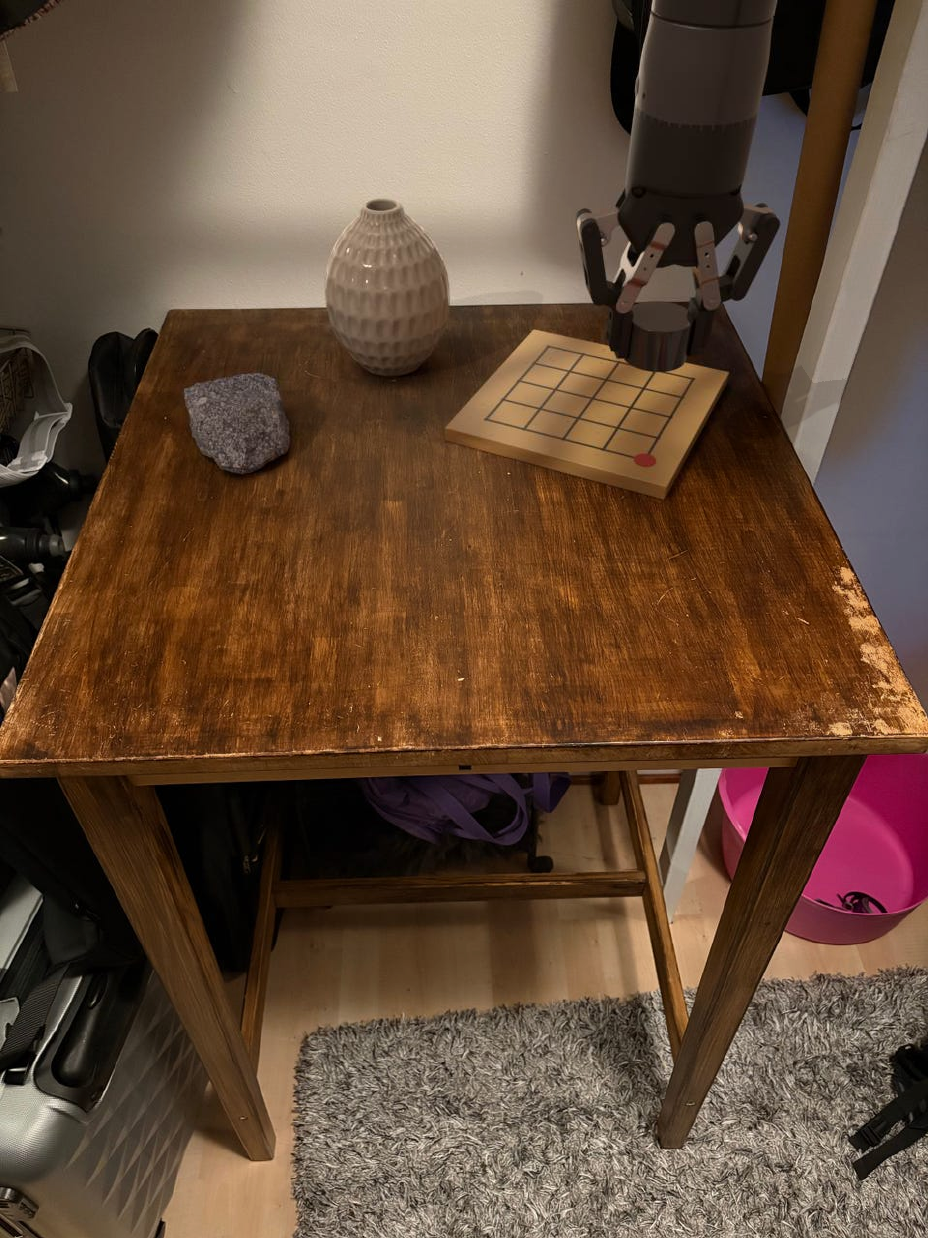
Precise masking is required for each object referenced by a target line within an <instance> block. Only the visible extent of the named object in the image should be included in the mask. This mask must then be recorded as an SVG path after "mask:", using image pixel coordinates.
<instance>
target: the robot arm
mask: <svg viewBox="0 0 928 1238" xmlns="http://www.w3.org/2000/svg"><path fill="white" fill-rule="evenodd" d="M777 5H778V0H652V3H651V11H650V13H649V14H650V15H649V21H648V25H647V29H646V34H645V37H644V41H643V46H642V51H641V55H640V60H639V70H638V74H637V77H636V80H635V87H634V93H635V102H634V108H633V109H634V111H633V118H632V125H631V126H632V127H631V133H630V142H629V150H628V157H627V165H626V174H625V182H624V187H623V190H622V191H621V193H620V195H619V197H618V199H617V200H616V201H615V205H614V206H612V207H609V208H605V209H601V210H598V211H595V212H592V211H591V210H590V209H589V208H586V207H584V208H580V209H579V210H578V211H577V212H576V213H575V216H574V221H575V227H576V233H577V239H578V246H579V252H580V257H581V264H582V271H583V276H584V282H585V287H586V289H587V291H588V294H589V296H590V299H591V302H592V303H593V305H595V306H597V307H601V306H606V307H608V312H607V320H606V329H605V336H604V337H605V339H606V343H607V346H609V348H610V350H611V352H613V351H614V353H615V356H616V358H617V359H626V358H627V356H628V350H629V343H630V336H631V329H632V322H633V315H634V313H633V311H632V307H633V306H634V305H635V303H636V301H637V300H638V297H639V295H640V293H641V291H642V289H643V288H644V287H645V286H647V285H648V283H649V282H650V279H651V278H652V276H653V273H654V272H655V270H656V269H664V268H668V267H670V266H674V265H675V266H679V267H683V268H690V269H691V274H692V275H691V276H692V280H693V287H694V292H695V294H694V297H690V298H689V303H688V308H687V310H689V311H690V312H691V313H692V315H693V317H694V323H693V328H692V333H691V338H690V343H689V348H688V354H687V357H697V356H699V355H700V351H701V349H705V348H706V347H707V346H708V344H709V342H710V338H711V332H712V329H713V325H714V319H715V316H716V315H715V314H716V311H717V308H718V307H719V306H720V305H721V304H723V303H725V302H727V301H730V300H732V301H734V302H739V301H742V300H743V299H745V298H746V296H747V294H748V293H749V291H750V289H751V286H752V284H753V282H754V280H755V278H756V277H757V274H758V272H759V271H760V268H761V266H762V264H763V263H764V261H765V258H766V256H767V254H768V252H769V250H770V248H771V246H772V243H773V242H774V240H775V238H776V236H777V233H778V232H779V229H780V227H781V220H780V219H779V218H778V217H777V215H776V213H775V212H774V211H773V210H772V209H771V208H770V207H769V206H768V204H767V203H764V202H761V203H758V204H756V205H750V204H746V203H744V201H743V198H742V187H743V183H744V181H745V178H746V177H745V176H746V171H747V167H748V162H749V157H750V153H751V149H752V143H753V139H754V134H755V128H756V124H757V120H758V115H759V111H760V106H761V101H762V96H763V91H764V86H765V82H766V77H767V73H768V68H769V67H768V66H769V61H770V53H771V41H772V40H771V39H772V29H773V24H774V17H775V13H776V8H777ZM736 225H738V226H737V234H738V235H739V237H738V239H737V242H736V244H735V246H734V249H733V250H732V253H731V255H730V257H729V258H728V261H727V264H726V265H725V267H724V270H723V271H722V273H721V275H720V274H719V267H718V260H717V254H716V253H717V252H716V248H717V247H718V245H720V244H721V242H722V241H723V240H724V239H725V238H726V237H727V235H729V233H730V232H731V231H732V230H733V229H734V228H735V227H736ZM619 226H620V229H621V230H622V232H623V233H624V235H625V237H626V238H627V240H628V243H627V245H626V247H625V248H624V251H623V253H622V256H621V258H620V265H619V267H618V270H617V272H616V274H615V276H614V278H613V281H610V280H608V279H607V272H606V266H605V259H604V253H603V252H604V251H603V248H605V247H607V246H608V245H609V244H610V243H611V240H612V232H613V231H614V229H615V228H616V227H619Z"/></svg>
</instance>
